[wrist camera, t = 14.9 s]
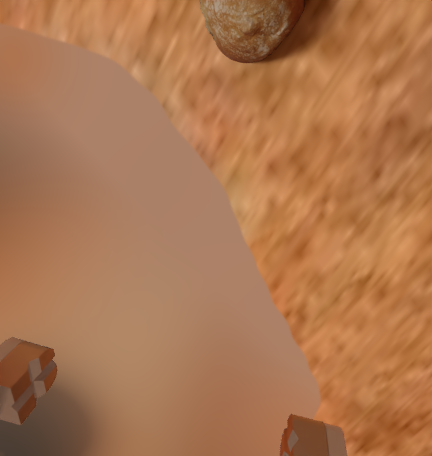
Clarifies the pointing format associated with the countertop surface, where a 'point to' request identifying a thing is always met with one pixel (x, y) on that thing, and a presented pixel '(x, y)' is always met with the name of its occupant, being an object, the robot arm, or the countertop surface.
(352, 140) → the countertop surface
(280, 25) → the bread roll
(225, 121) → the countertop surface
